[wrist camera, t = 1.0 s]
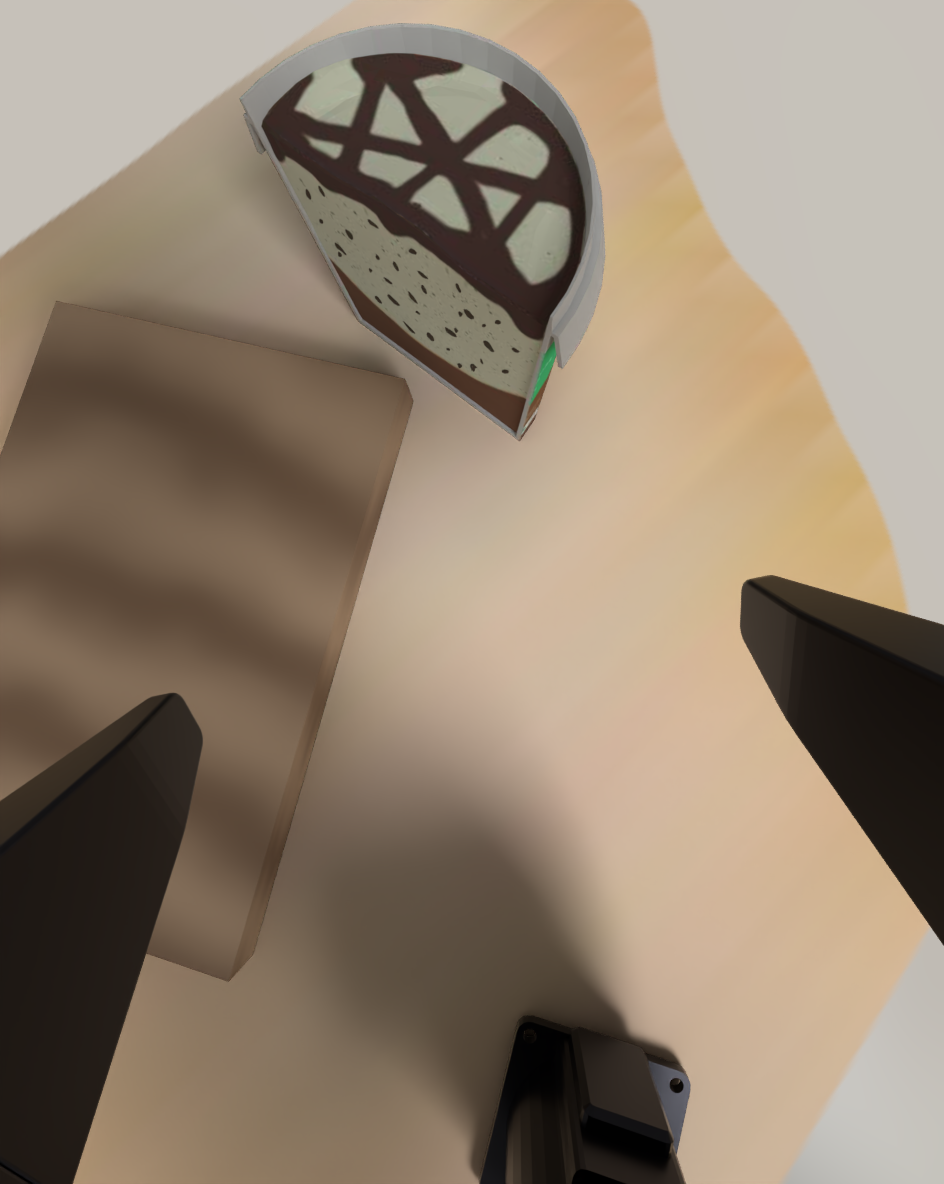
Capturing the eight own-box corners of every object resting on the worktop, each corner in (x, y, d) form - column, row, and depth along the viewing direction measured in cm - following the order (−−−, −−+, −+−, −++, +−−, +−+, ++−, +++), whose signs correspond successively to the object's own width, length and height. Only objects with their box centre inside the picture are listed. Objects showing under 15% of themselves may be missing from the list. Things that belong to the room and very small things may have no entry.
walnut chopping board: (252, 954, 23) (228, 981, 21) (-91, 838, 25) (-144, 853, 23) (413, 400, 26) (404, 379, 24) (89, 327, 27) (56, 300, 25)
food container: (634, 353, 25) (713, 153, 15) (547, 461, 25) (568, 329, 15) (418, 203, 27) (362, -67, 17) (333, 303, 26) (225, 89, 17)
